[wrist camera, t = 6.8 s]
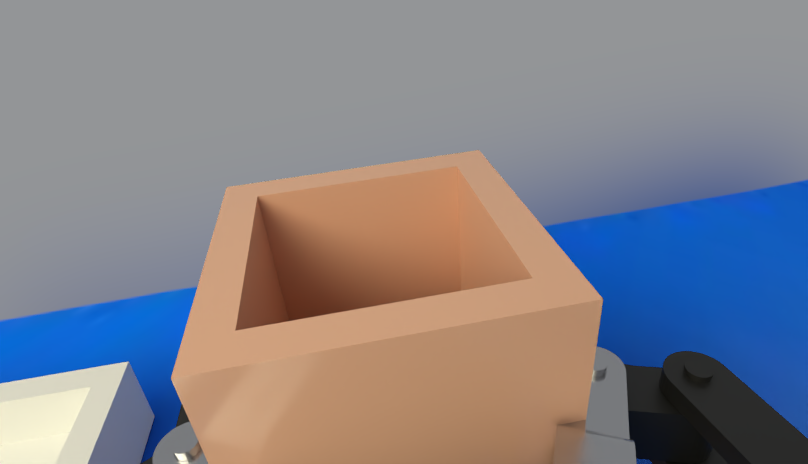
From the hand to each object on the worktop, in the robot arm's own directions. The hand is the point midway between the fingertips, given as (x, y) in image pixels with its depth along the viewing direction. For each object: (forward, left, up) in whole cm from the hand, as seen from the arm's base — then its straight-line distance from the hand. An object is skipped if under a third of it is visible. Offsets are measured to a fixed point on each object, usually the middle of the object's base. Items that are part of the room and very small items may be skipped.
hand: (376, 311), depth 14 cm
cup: (0, +2, -6) cm, 7 cm away
